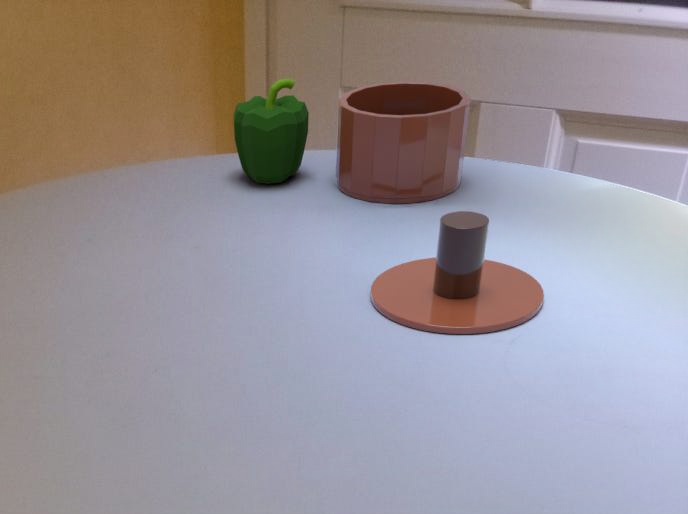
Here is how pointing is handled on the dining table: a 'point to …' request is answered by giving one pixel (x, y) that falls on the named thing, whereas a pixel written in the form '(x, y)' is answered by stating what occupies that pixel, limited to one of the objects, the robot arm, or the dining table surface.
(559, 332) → the dining table surface
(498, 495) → the dining table surface
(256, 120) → the bell pepper
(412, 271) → the lid
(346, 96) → the brown pot
